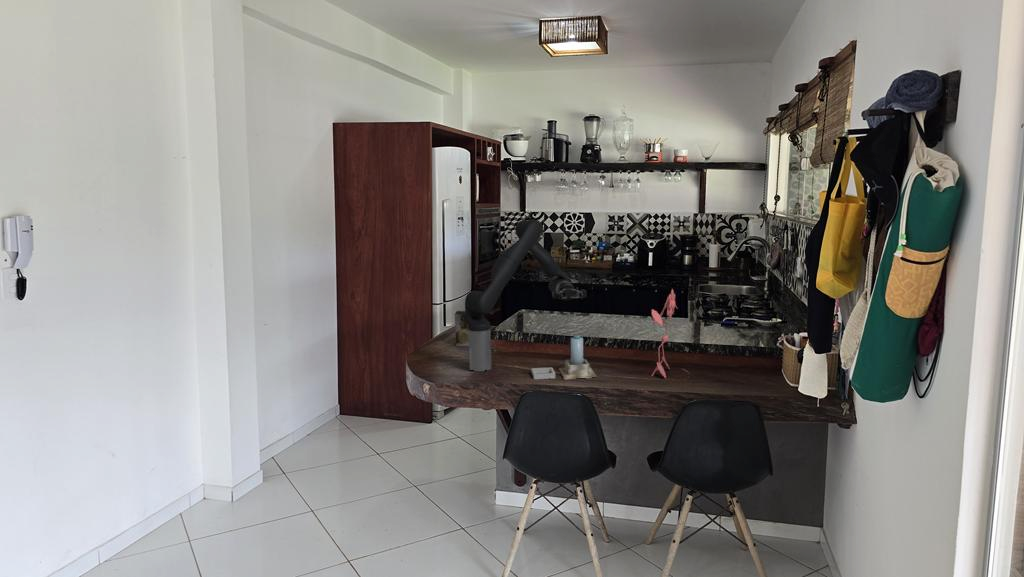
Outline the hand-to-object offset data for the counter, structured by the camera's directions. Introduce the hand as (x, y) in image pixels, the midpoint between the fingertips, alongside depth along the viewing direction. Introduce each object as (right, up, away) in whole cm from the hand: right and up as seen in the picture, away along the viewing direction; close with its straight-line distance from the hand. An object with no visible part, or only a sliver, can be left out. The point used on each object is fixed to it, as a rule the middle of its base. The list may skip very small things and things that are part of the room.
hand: (572, 297), depth 296 cm
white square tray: (-12, -32, -7) cm, 35 cm away
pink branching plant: (+39, -32, -9) cm, 51 cm away
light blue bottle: (+2, -30, -6) cm, 31 cm away
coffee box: (-47, -24, +46) cm, 70 cm away
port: (+2, -31, -6) cm, 32 cm away
